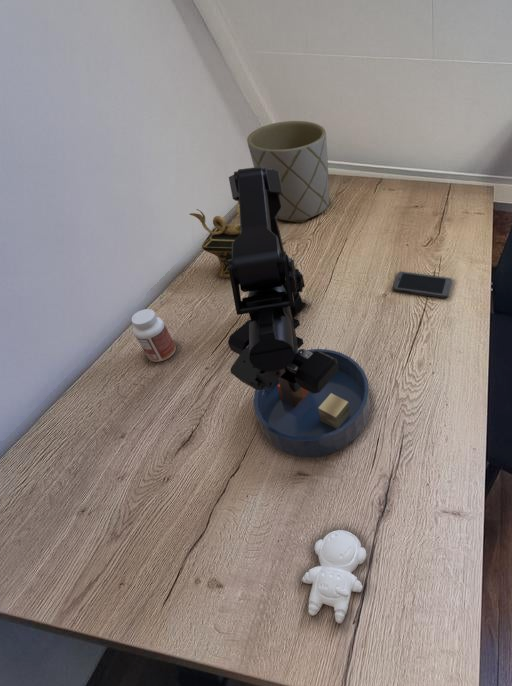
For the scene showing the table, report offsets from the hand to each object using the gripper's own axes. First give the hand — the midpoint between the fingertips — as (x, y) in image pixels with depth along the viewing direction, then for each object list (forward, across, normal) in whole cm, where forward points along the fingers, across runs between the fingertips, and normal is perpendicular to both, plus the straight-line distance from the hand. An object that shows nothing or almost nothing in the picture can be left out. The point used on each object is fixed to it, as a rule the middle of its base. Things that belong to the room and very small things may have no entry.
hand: (290, 387), depth 78 cm
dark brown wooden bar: (+4, 0, 0) cm, 4 cm away
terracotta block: (+11, -5, +4) cm, 13 cm away
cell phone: (+11, 0, +48) cm, 50 cm away
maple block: (+11, +5, +4) cm, 13 cm away
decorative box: (+11, -46, +31) cm, 56 cm away
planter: (+11, -54, +65) cm, 85 cm away
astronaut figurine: (+12, +21, -18) cm, 30 cm away
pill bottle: (+11, -39, -2) cm, 41 cm away
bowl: (+11, 0, +4) cm, 12 cm away
